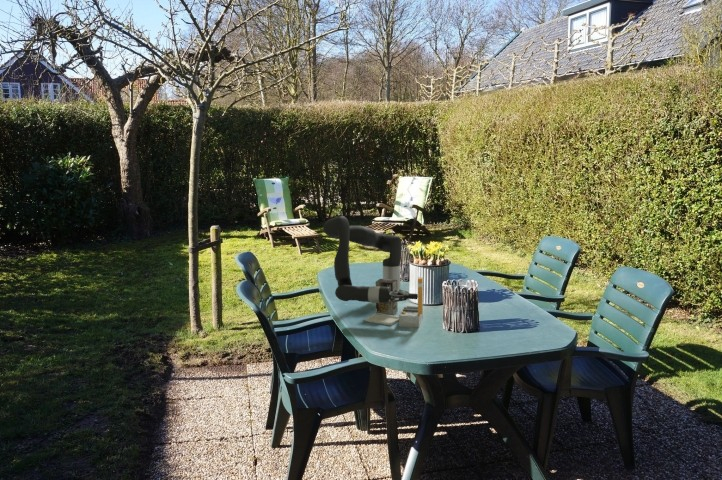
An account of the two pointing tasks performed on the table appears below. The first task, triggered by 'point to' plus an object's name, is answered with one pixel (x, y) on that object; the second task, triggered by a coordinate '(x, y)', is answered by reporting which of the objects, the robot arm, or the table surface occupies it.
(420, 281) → the lever
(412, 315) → the silver box
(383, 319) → the white shallow tray
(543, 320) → the table surface
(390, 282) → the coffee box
